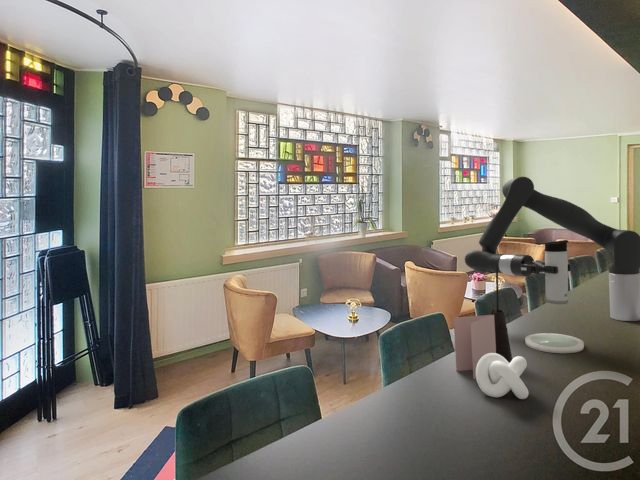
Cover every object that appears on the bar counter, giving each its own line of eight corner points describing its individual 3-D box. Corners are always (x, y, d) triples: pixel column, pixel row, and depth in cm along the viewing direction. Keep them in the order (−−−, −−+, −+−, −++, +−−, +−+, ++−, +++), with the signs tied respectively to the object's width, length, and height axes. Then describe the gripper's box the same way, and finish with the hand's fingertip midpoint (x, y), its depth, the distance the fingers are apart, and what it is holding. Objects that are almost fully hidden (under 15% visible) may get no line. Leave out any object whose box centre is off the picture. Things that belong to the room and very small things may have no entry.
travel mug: (572, 304, 125) (571, 240, 123) (549, 304, 126) (548, 241, 125) (565, 300, 131) (563, 239, 130) (543, 300, 132) (541, 240, 131)
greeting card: (495, 366, 112) (492, 313, 111) (508, 376, 105) (505, 320, 104) (455, 369, 112) (452, 317, 111) (465, 380, 104) (462, 323, 104)
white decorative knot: (546, 403, 89) (544, 364, 89) (495, 409, 88) (493, 369, 88) (517, 383, 100) (516, 348, 100) (471, 388, 100) (469, 352, 99)
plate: (521, 336, 136) (521, 332, 136) (575, 338, 131) (575, 333, 131) (530, 352, 121) (529, 347, 121) (591, 354, 116) (590, 349, 116)
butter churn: (482, 352, 124) (477, 263, 122) (516, 354, 120) (512, 262, 119) (483, 363, 115) (478, 267, 114) (520, 365, 112) (515, 266, 110)
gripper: (502, 256, 137) (549, 259, 122) (529, 252, 143) (577, 255, 129) (502, 277, 137) (550, 283, 122) (529, 273, 144) (577, 278, 129)
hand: (563, 269), depth 126 cm, fingers closed on travel mug, 6 cm apart
